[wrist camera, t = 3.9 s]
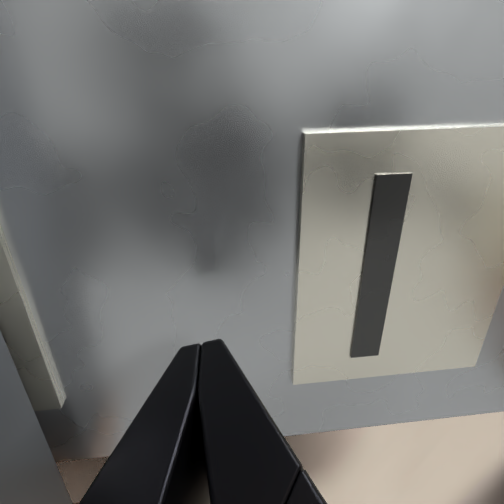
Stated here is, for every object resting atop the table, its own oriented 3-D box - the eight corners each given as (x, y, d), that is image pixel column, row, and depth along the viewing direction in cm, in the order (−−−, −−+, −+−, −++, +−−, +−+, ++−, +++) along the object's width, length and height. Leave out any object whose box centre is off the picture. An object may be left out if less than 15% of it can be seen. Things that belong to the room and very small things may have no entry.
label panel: (-579, -3, 6) (-832, -23, 5) (664, -4, 9) (766, -18, 7) (-187, 447, 12) (-245, 505, 10) (507, 374, 14) (545, 413, 13)
